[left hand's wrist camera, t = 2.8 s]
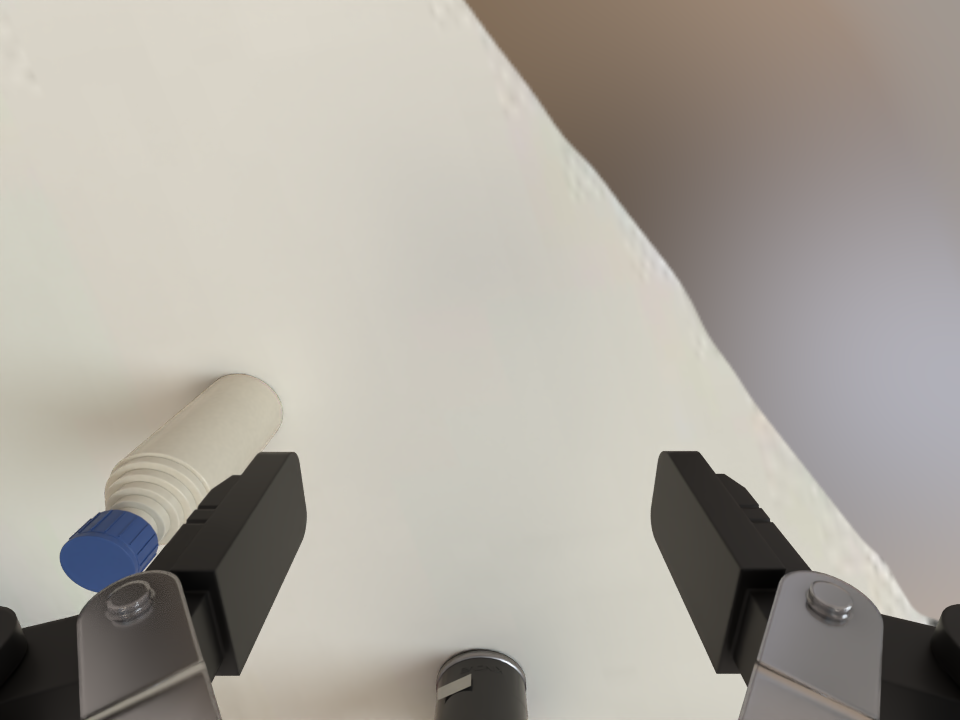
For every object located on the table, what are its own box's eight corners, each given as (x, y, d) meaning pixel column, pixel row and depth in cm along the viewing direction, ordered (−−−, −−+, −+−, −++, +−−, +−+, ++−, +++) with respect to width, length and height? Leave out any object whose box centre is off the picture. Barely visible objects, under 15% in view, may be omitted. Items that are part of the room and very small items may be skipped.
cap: (83, 552, 29) (53, 581, 27) (93, 498, 28) (62, 525, 26) (152, 572, 30) (129, 603, 28) (165, 521, 28) (141, 549, 26)
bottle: (198, 427, 44) (32, 585, 28) (214, 362, 42) (45, 492, 26) (272, 452, 45) (154, 620, 29) (291, 390, 43) (176, 533, 27)
